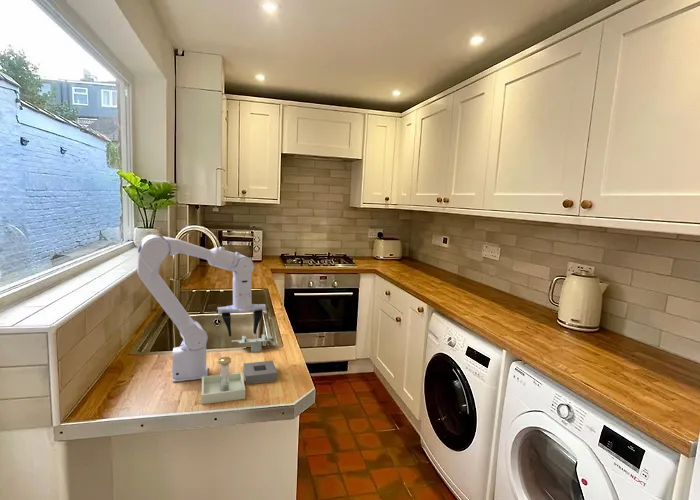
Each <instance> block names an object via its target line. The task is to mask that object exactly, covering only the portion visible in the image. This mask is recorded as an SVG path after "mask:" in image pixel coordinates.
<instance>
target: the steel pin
mask: <svg viewBox="0 0 700 500" xmlns="http://www.w3.org/2000/svg"><path fill="white" fill-rule="evenodd" d="M231 362H232V358H231V356H222V357H220V358H218V364H219V367H220V370H219V375H220V391H228V390H229V374H230V363H231Z"/></svg>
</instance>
